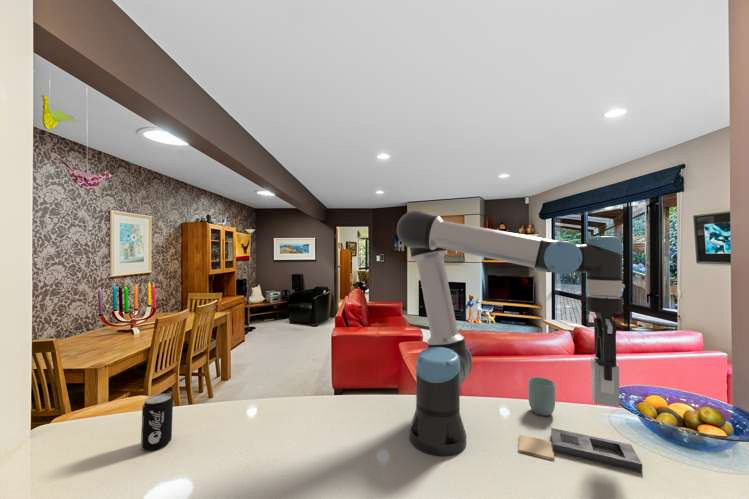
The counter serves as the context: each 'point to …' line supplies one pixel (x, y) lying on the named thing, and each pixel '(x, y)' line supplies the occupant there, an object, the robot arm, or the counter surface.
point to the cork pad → (536, 447)
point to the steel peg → (595, 386)
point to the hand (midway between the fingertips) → (604, 388)
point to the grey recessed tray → (583, 449)
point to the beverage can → (156, 422)
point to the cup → (541, 395)
